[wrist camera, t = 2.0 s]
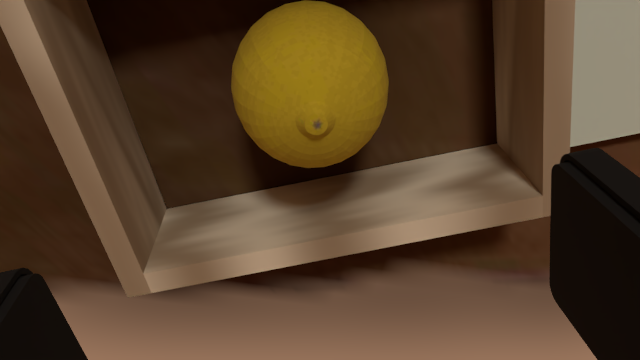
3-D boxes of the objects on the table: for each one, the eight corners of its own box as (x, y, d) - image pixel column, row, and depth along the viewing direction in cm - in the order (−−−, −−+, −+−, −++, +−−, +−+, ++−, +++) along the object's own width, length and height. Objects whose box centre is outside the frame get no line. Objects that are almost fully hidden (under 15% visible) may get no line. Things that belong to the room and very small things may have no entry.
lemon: (353, 124, 24) (382, 217, 17) (230, 103, 24) (210, 192, 16) (384, 0, 22) (434, 50, 15) (249, -29, 21) (234, 10, 14)
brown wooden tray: (513, -189, 19) (583, -214, 15) (518, 158, 26) (567, 212, 21) (26, -83, 20) (-47, -76, 15) (153, 230, 26) (127, 297, 22)
